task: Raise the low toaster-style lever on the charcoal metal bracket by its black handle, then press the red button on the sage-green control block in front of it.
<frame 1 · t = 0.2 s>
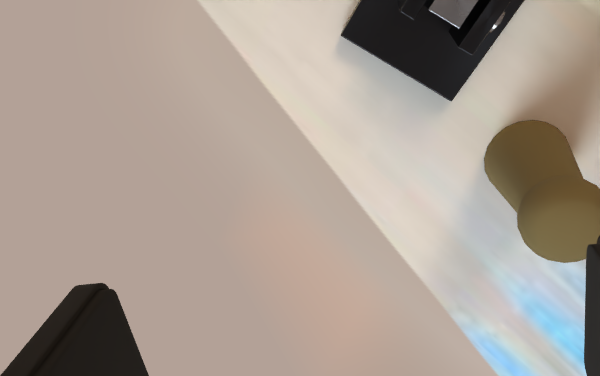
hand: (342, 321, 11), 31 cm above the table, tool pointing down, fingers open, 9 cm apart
cork: (525, 158, 41), on the table
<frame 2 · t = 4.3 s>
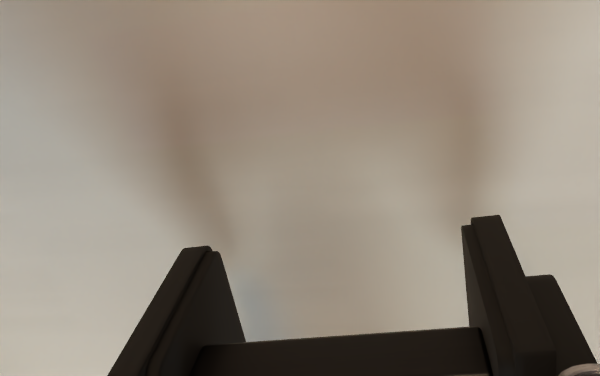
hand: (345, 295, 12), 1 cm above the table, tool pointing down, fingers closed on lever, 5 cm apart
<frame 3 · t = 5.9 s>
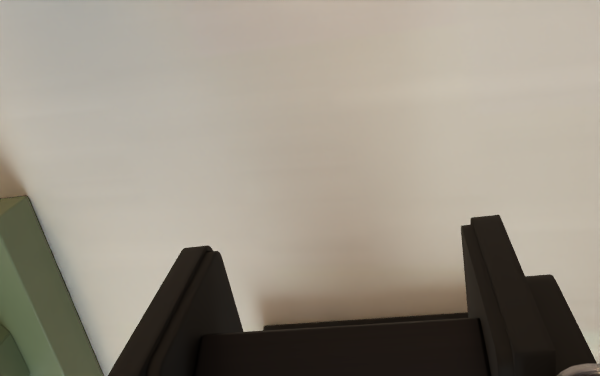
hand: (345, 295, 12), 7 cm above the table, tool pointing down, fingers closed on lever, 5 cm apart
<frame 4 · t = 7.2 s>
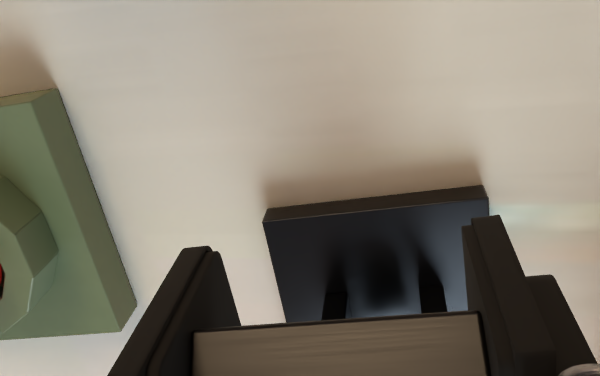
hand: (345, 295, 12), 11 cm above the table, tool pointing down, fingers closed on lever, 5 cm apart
control block: (4, 217, 26), on the table
bracket: (388, 313, 26), on the table
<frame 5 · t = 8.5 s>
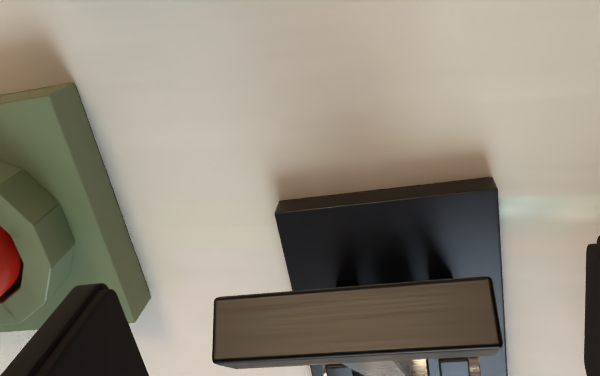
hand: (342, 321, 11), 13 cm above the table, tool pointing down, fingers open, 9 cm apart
control block: (21, 210, 27), on the table
bracket: (398, 304, 26), on the table
lever: (386, 360, 16), point 9 cm above the table, hinge at 42.9°
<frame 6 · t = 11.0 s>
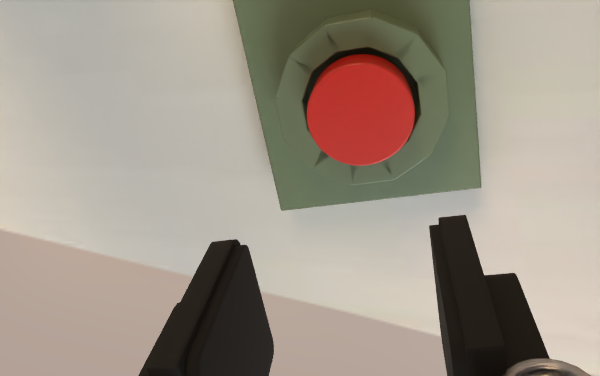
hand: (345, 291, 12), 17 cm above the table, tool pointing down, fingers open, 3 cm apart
button: (360, 110, 23), point 4 cm above the table, slide at 0.1 cm
control block: (363, 82, 27), on the table
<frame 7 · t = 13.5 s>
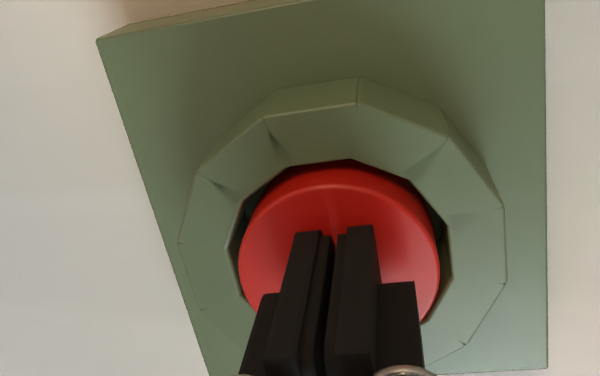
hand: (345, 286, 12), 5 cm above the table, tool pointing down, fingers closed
button: (338, 254, 13), point 4 cm above the table, slide at -0.7 cm, touching gripper
control block: (345, 186, 16), on the table
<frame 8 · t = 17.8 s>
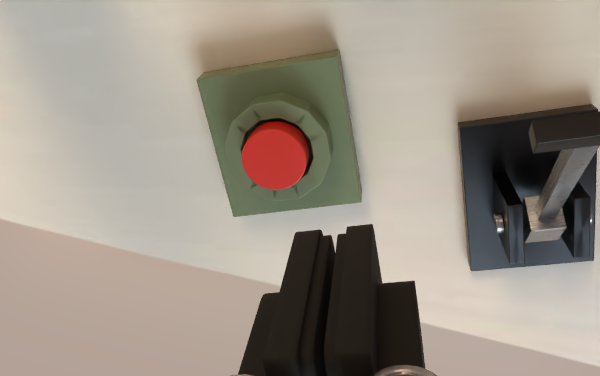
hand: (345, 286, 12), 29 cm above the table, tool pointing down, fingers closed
button: (275, 155, 38), point 4 cm above the table, slide at 0.1 cm
control block: (285, 133, 42), on the table
bracket: (525, 189, 41), on the table
lever: (559, 185, 32), point 9 cm above the table, hinge at 42.9°
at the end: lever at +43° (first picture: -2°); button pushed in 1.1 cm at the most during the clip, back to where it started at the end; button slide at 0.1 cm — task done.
